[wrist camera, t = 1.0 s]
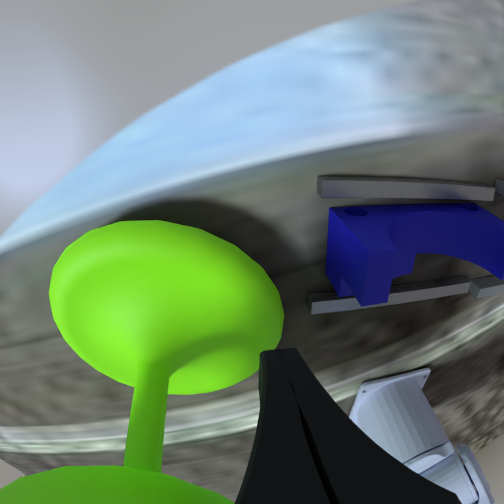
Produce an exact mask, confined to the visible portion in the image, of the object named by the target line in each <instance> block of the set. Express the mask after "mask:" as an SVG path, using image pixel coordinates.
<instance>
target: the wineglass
mask: <svg viewBox="0 0 504 504" xmlns="http://www.w3.org/2000/svg"><path fill="white" fill-rule="evenodd" d="M49 298H50V303H51V309H52V314H53V318H54V320H55V322H56V324H57V326H58V328H59V330H60V332H61V334H62V336H63V338H64V339H65V341H66V342H67V343H68V344H69V345H70V346H71V347H72V349H73V350H74V351H75V352H76V353H77V354H78V355H79V356H80V357H81V358H82V359H83V360H84V361H86V362H87V363H88V364H90V365H91V366H92V367H94V368H95V369H96V370H98V371H99V372H101V373H103V374H105V375H107V376H109V377H111V378H112V379H114V380H116V381H118V382H121V383H124V384H126V385H129V386H132V387H135V389H134V395H133V401H132V407H131V413H130V420H129V427H128V433H127V441H126V448H125V456H124V464H123V466H114V465H113V466H64V467H60V468H56V469H53V470H49V471H45V472H41V473H37V474H33V475H28V476H24V477H20V478H19V479H17V480H15V481H14V482H12V483H10V484H8V485H7V486H5V487H3V488H2V489H0V504H235V503H234V502H232V501H231V500H229V499H227V498H226V497H224V496H222V495H220V494H218V493H216V492H214V491H211V490H208V489H205V488H202V487H199V486H197V485H194V484H191V483H188V482H186V481H183V480H181V479H178V478H175V477H173V476H170V475H166V474H163V473H161V467H162V453H163V439H164V427H165V416H166V406H167V396H168V394H182V395H189V394H198V393H207V392H212V391H216V390H219V389H223V388H226V387H229V386H232V385H234V384H236V383H238V382H240V381H242V380H244V379H246V378H248V377H250V376H251V375H253V374H254V373H255V372H256V371H257V370H258V369H259V360H260V353H261V352H262V351H265V350H275V348H276V347H277V345H278V343H279V341H280V339H281V335H282V328H283V321H284V311H283V307H282V303H281V299H280V295H279V291H278V290H277V288H276V287H275V285H274V284H273V282H272V281H271V279H270V278H269V276H268V275H267V273H266V272H265V270H264V269H263V267H261V266H260V265H259V264H258V263H256V262H255V261H254V260H253V259H251V258H250V257H249V256H248V255H247V254H245V253H244V252H243V251H242V250H240V249H239V248H238V247H237V246H236V245H233V244H231V243H229V242H227V241H225V240H223V239H221V238H218V237H216V236H214V235H212V234H210V233H208V232H206V231H204V230H201V229H199V228H194V227H189V226H185V225H180V224H175V223H171V222H166V221H161V220H144V221H120V222H116V223H113V224H110V225H107V226H103V227H100V228H97V229H94V230H91V231H88V232H87V233H85V234H84V235H83V236H81V237H80V238H78V239H77V240H76V241H74V242H73V243H72V244H70V245H69V246H68V247H66V248H65V250H64V252H63V253H62V255H61V256H60V258H59V259H58V261H57V263H56V264H55V266H54V268H53V271H52V277H51V283H50V289H49Z"/></svg>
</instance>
